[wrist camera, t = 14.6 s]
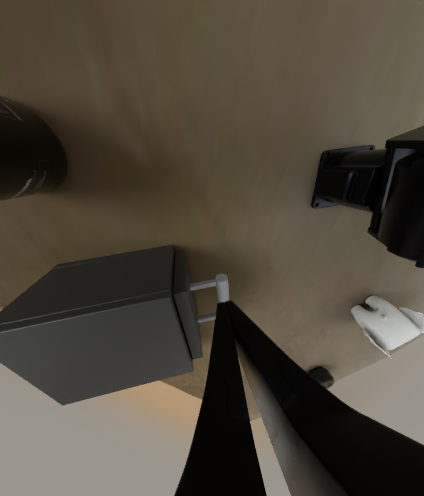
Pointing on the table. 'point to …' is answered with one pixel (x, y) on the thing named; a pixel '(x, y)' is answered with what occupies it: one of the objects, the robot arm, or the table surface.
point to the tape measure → (322, 377)
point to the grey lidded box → (97, 327)
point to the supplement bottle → (27, 153)
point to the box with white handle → (193, 301)
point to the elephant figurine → (388, 323)
